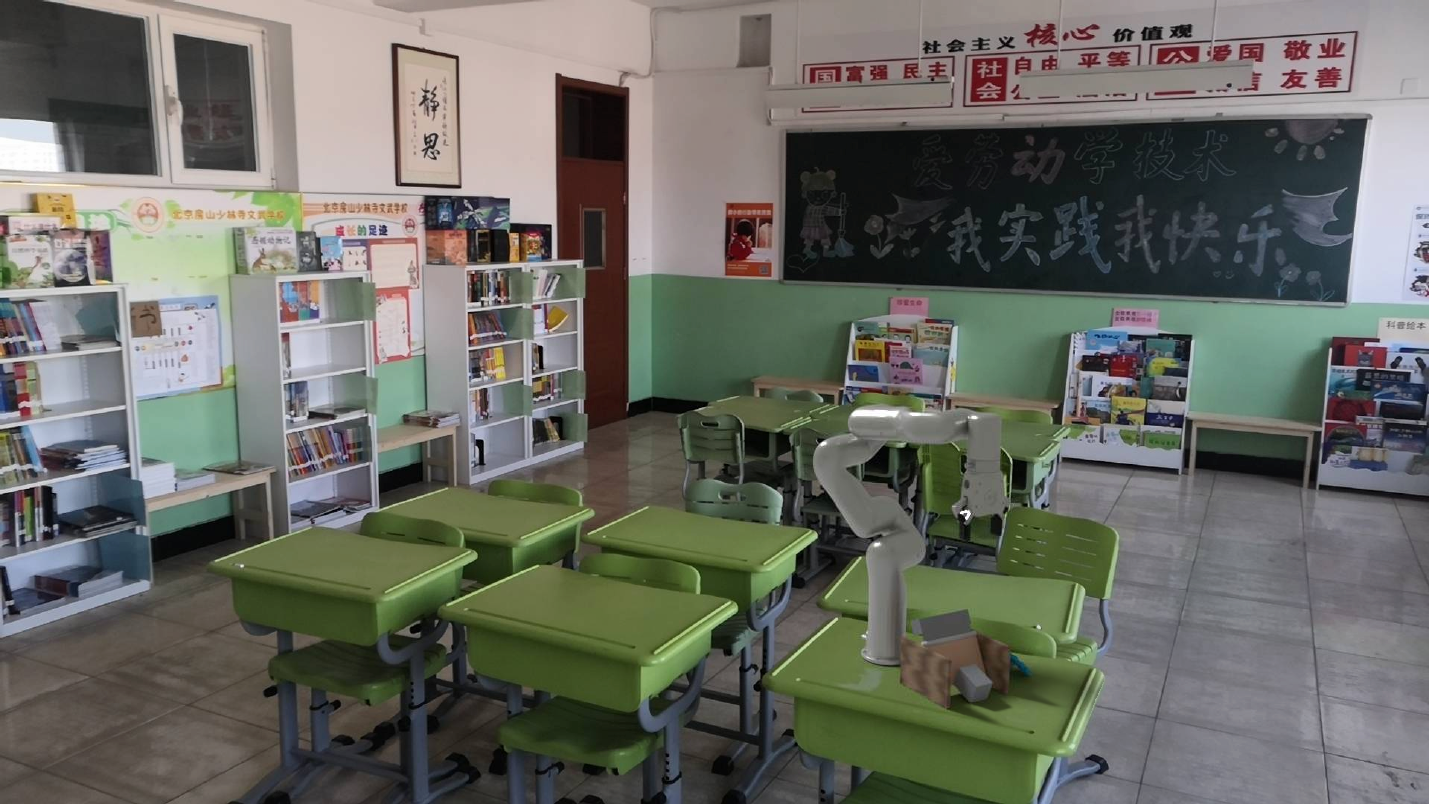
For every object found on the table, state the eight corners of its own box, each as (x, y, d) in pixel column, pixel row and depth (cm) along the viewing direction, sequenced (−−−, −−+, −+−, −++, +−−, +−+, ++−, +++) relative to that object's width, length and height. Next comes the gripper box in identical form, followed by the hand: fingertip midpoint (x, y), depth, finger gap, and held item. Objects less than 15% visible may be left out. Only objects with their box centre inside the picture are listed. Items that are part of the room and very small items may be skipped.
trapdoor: (908, 621, 251) (918, 619, 248) (960, 610, 259) (970, 608, 256) (925, 690, 247) (935, 689, 244) (977, 677, 255) (987, 676, 252)
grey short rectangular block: (958, 667, 245) (976, 686, 240) (975, 663, 247) (993, 682, 242) (952, 684, 247) (970, 703, 242) (969, 680, 250) (986, 699, 245)
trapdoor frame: (899, 683, 254) (901, 637, 252) (960, 668, 262) (961, 624, 261) (946, 709, 239) (948, 660, 237) (1008, 693, 248) (1010, 646, 246)
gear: (1040, 675, 254) (1011, 648, 253) (1023, 694, 254) (995, 666, 252) (1020, 664, 265) (992, 637, 264) (1004, 682, 264) (977, 655, 263)
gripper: (965, 472, 238) (963, 545, 241) (1022, 465, 246) (1019, 536, 249) (943, 466, 245) (941, 538, 247) (999, 459, 253) (996, 529, 255)
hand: (980, 537), depth 248 cm, fingers open, 9 cm apart
